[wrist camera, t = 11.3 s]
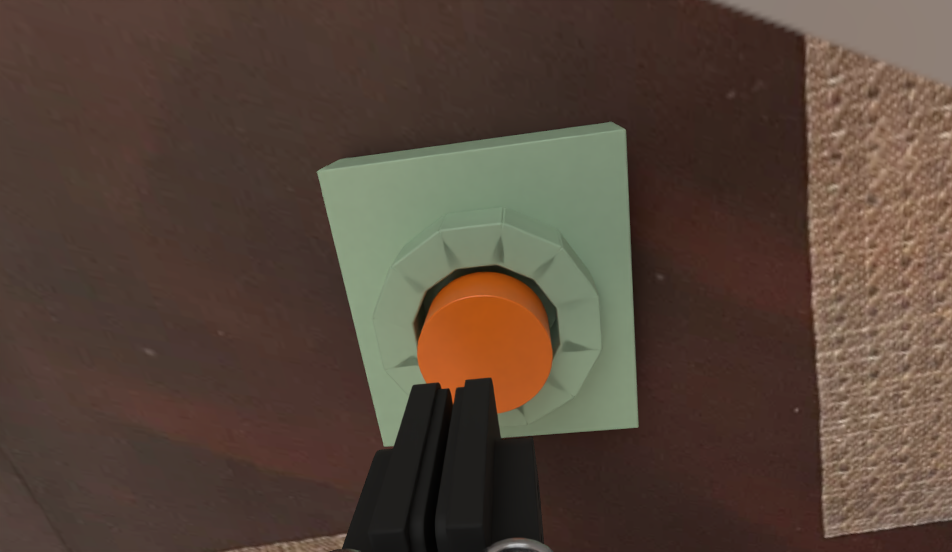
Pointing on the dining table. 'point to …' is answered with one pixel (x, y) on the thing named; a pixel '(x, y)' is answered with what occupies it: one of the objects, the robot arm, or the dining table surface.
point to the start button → (487, 338)
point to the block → (495, 262)
